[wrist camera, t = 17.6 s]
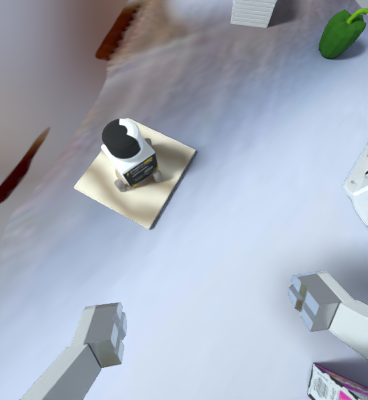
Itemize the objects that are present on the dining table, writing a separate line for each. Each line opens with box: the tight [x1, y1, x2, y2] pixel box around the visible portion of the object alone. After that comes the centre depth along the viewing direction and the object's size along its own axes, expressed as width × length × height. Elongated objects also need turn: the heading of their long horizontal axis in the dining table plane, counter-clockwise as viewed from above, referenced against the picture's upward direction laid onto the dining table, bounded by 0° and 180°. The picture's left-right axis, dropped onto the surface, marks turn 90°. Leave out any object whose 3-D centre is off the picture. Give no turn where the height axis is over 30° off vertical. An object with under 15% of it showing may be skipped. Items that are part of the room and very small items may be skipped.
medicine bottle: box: [101, 119, 159, 188], centre depth 37 cm, size 7×7×12 cm
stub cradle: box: [74, 118, 195, 230], centre depth 42 cm, size 20×18×4 cm
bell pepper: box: [319, 8, 368, 59], centre depth 51 cm, size 8×8×10 cm
